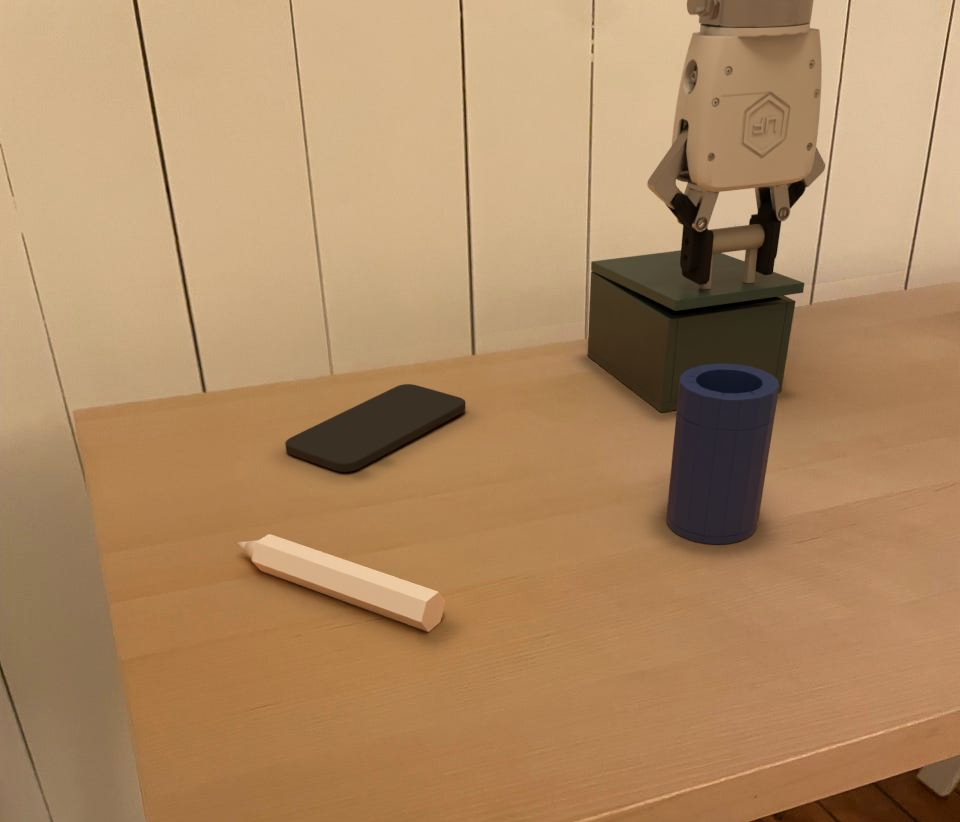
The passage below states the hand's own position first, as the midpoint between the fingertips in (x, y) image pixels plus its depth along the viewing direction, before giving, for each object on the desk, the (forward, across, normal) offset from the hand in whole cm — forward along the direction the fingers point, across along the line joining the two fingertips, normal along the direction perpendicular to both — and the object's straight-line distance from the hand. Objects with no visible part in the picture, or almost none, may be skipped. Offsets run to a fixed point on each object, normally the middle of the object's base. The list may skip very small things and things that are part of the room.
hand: (727, 272), depth 81 cm
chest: (+10, 0, +6) cm, 12 cm away
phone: (+10, -29, +4) cm, 31 cm away
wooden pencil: (+10, -38, -18) cm, 43 cm away
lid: (+2, 0, +5) cm, 6 cm away
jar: (+10, -12, -19) cm, 25 cm away
